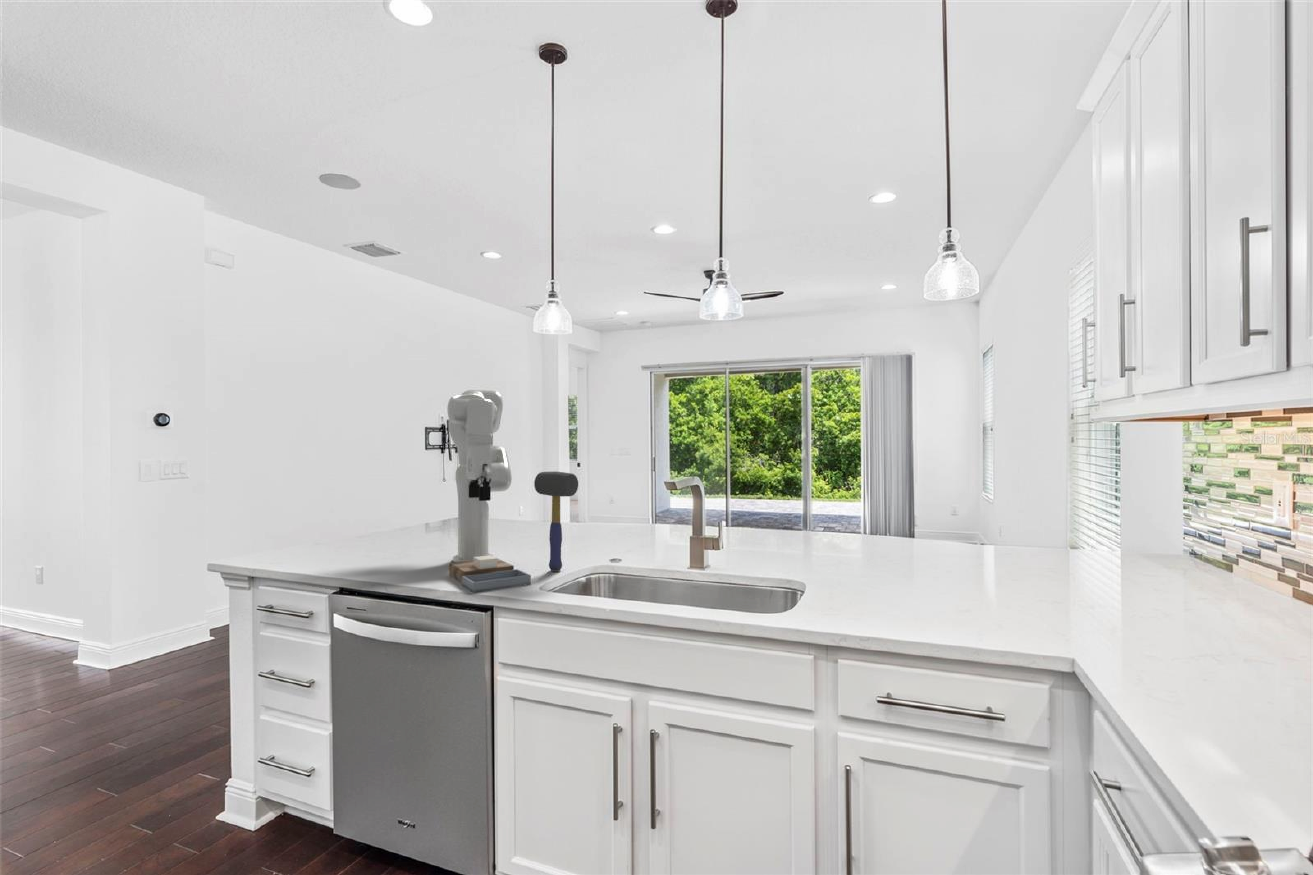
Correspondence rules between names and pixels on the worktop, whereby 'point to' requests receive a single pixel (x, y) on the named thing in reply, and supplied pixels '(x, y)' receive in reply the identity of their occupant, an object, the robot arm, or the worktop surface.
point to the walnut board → (475, 569)
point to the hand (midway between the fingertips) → (479, 499)
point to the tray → (496, 580)
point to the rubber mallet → (556, 507)
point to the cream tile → (485, 562)
